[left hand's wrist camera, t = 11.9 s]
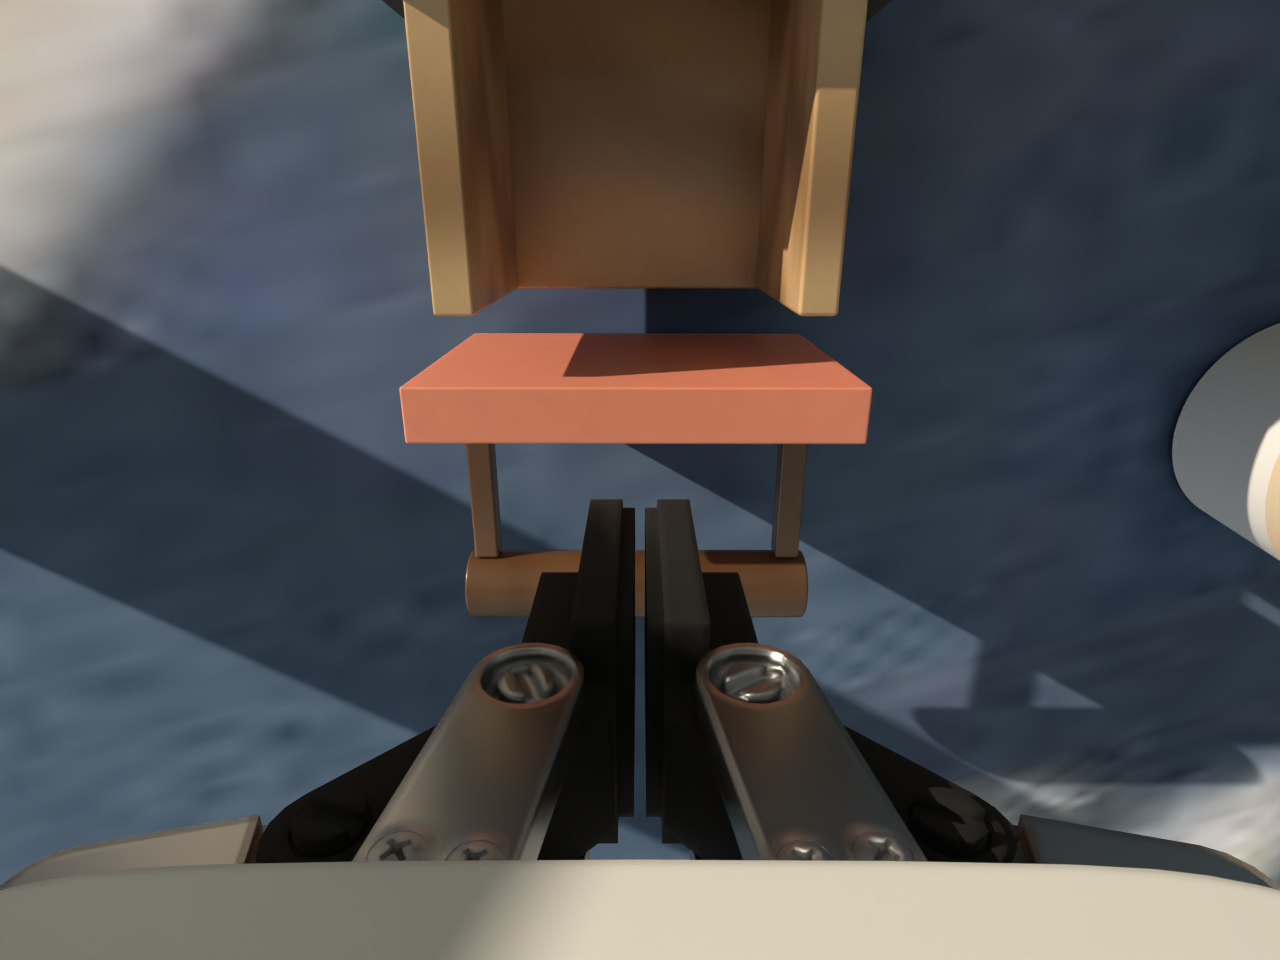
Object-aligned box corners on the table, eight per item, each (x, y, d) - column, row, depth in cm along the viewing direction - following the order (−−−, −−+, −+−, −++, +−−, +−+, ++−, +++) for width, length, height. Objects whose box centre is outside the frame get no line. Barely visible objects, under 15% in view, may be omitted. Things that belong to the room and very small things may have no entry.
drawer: (784, 540, 23) (841, 668, 17) (490, 540, 23) (431, 668, 17) (870, -552, 15) (1054, -1170, 8) (403, -554, 15) (213, -1173, 8)
